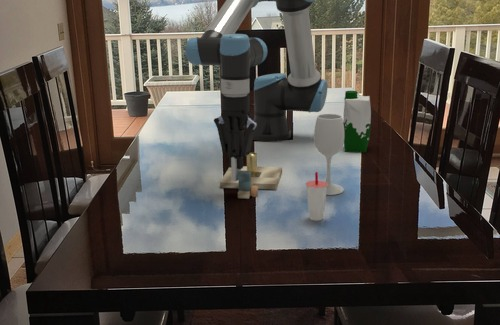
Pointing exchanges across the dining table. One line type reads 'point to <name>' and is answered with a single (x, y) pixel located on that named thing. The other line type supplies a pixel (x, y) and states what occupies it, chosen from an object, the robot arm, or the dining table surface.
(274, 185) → the light wooden flat board
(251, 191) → the dowel
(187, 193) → the dining table surface
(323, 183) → the cup
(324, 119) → the wineglass
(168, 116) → the dining table surface
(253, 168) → the post
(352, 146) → the milk carton
